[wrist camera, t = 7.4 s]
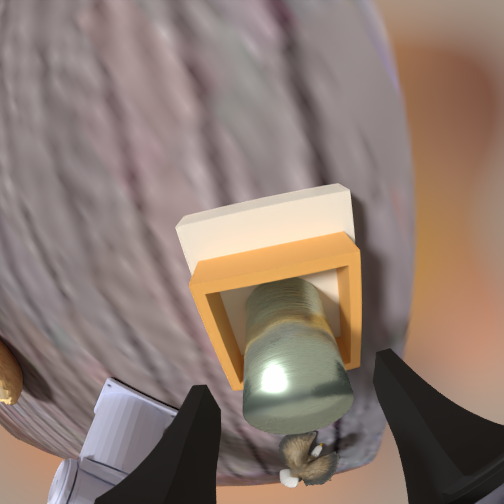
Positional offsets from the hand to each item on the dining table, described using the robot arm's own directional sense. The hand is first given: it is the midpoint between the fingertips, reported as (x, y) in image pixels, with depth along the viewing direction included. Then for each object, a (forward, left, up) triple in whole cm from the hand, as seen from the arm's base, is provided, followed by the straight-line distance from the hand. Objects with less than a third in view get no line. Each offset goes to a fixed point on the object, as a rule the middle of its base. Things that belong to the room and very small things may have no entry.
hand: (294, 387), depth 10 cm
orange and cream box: (0, 0, -8) cm, 8 cm away
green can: (0, 0, -6) cm, 6 cm away
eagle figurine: (-16, -17, -8) cm, 25 cm away
